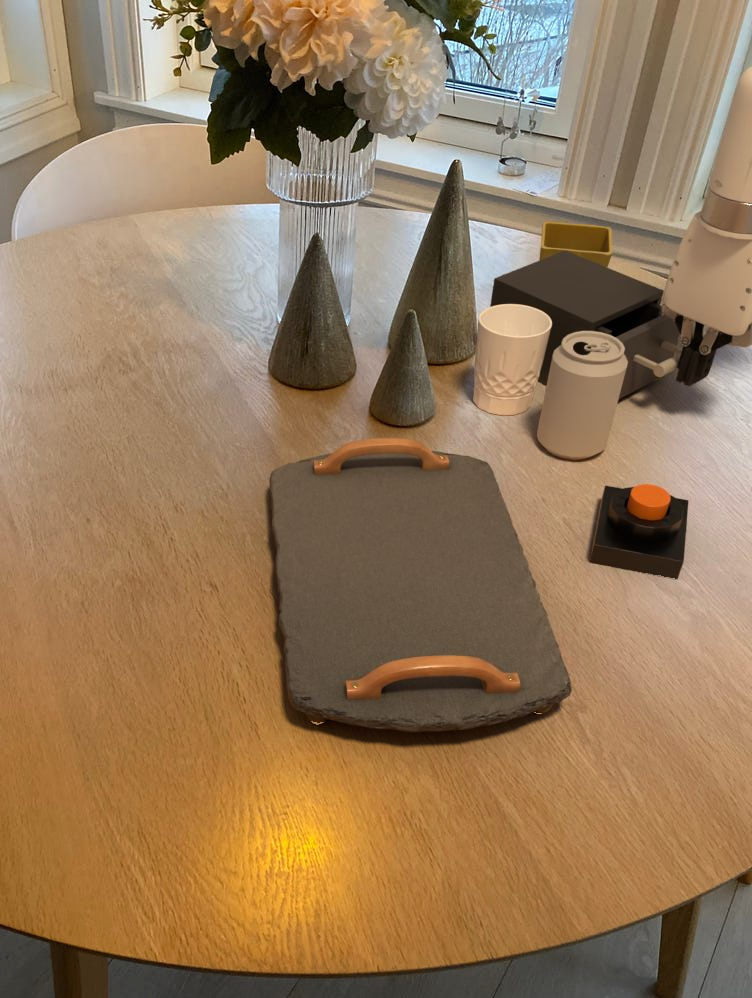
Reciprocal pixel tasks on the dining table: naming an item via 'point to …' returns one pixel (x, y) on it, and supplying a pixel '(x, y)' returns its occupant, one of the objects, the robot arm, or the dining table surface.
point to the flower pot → (577, 241)
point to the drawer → (645, 345)
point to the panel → (639, 536)
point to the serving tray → (407, 592)
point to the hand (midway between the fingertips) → (689, 379)
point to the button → (648, 502)
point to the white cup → (509, 357)
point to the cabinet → (572, 296)
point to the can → (582, 394)
